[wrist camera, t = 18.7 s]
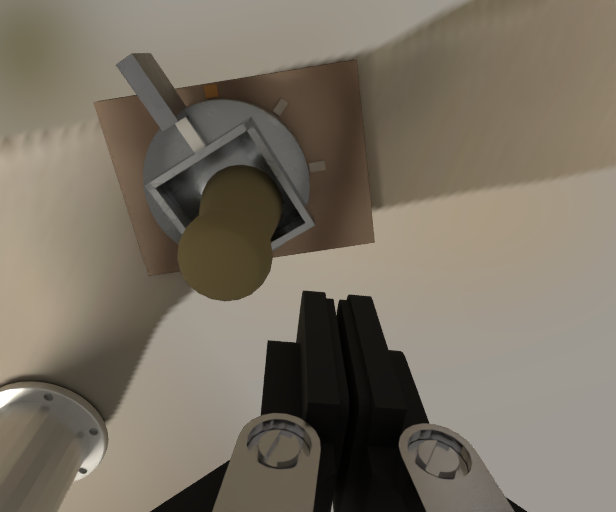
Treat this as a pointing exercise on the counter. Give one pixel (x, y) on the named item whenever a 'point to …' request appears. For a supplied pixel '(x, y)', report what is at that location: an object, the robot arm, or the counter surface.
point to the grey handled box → (213, 151)
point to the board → (306, 127)
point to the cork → (231, 234)
